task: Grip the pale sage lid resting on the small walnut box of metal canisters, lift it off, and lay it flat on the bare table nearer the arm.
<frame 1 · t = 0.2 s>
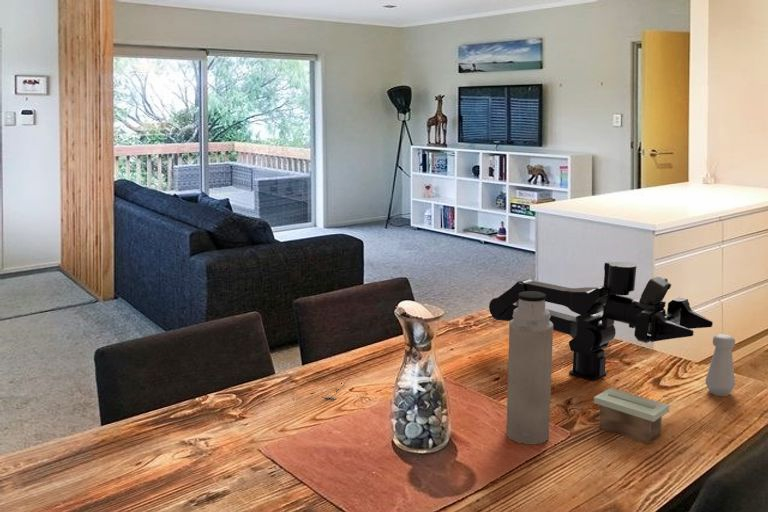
hand: (702, 328, 141), 17 cm above the table, tool horizontal, fingers open, 9 cm apart
fork: (338, 391, 156), on the table
thermos bottle: (527, 435, 133), on the table
salt shaker: (718, 393, 151), on the table
lid: (630, 406, 133), point 5 cm above the table, touching box
box: (629, 431, 134), on the table
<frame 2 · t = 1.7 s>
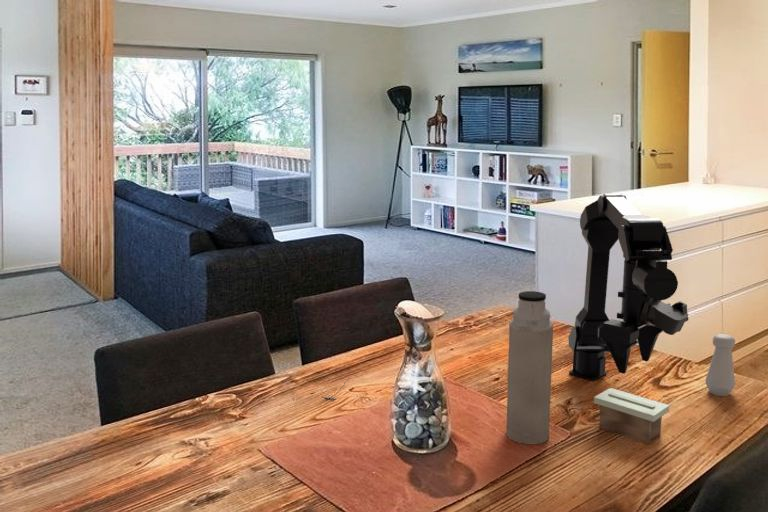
hand: (634, 366, 131), 13 cm above the table, tool pointing down, fingers open, 9 cm apart
nothing on the table moved.
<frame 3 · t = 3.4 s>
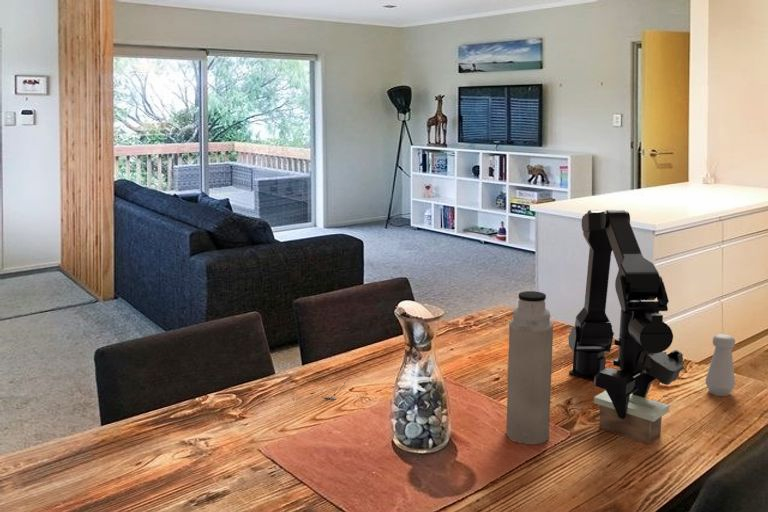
hand: (630, 412, 133), 4 cm above the table, tool pointing down, fingers closed on lid, 6 cm apart
lid: (630, 406, 133), point 5 cm above the table, touching box, gripper
everything else where it was.
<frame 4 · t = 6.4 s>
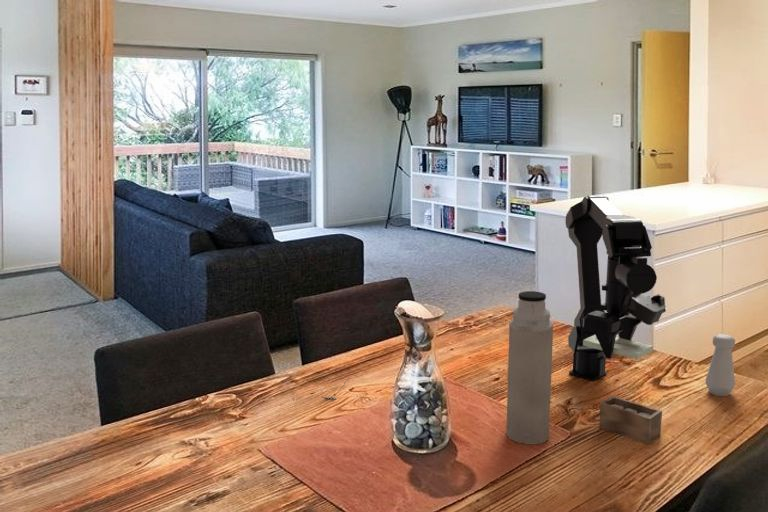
hand: (616, 354, 143), 11 cm above the table, tool pointing down, fingers closed on lid, 6 cm apart
lid: (617, 348, 143), point 13 cm above the table, touching gripper
everything else where it was.
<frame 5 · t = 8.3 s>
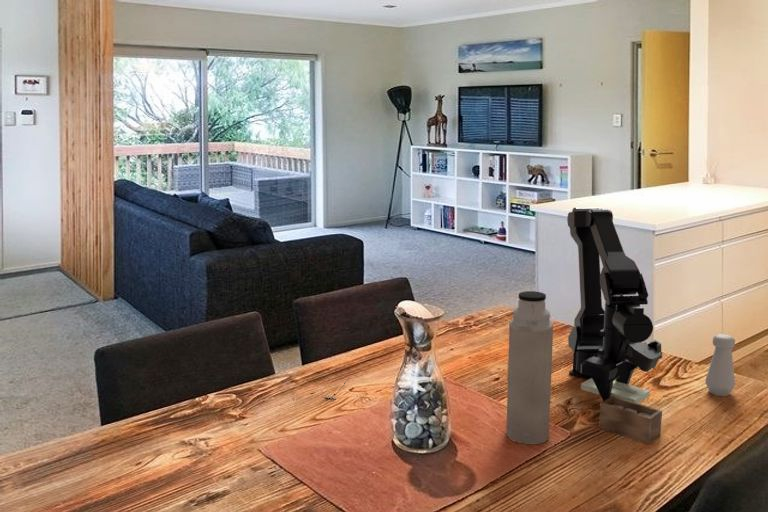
hand: (614, 398, 145), 2 cm above the table, tool pointing down, fingers closed on lid, 6 cm apart
lid: (614, 392, 145), point 3 cm above the table, touching gripper
everything else where it was.
when the fingers open (1 cm above the table, at t = 9.5 s): lid drops 3 cm, on the table.
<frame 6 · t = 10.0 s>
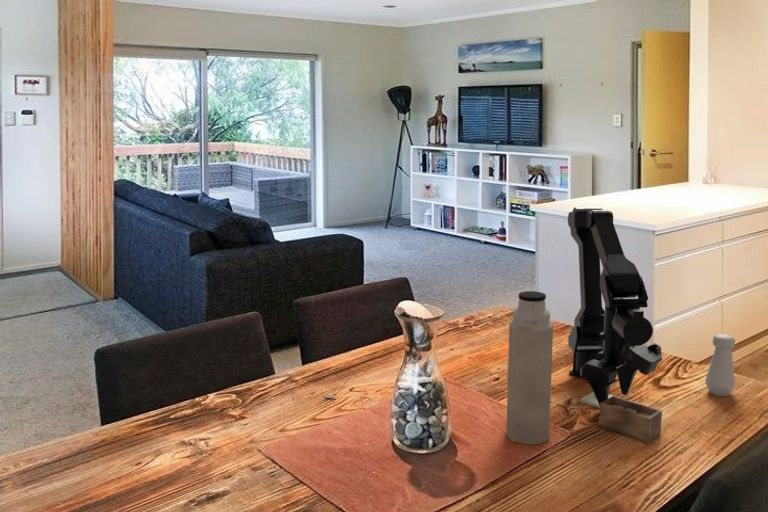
hand: (614, 400, 145), 1 cm above the table, tool pointing down, fingers open, 9 cm apart
lid: (613, 407, 145), on the table
everything else where it was.
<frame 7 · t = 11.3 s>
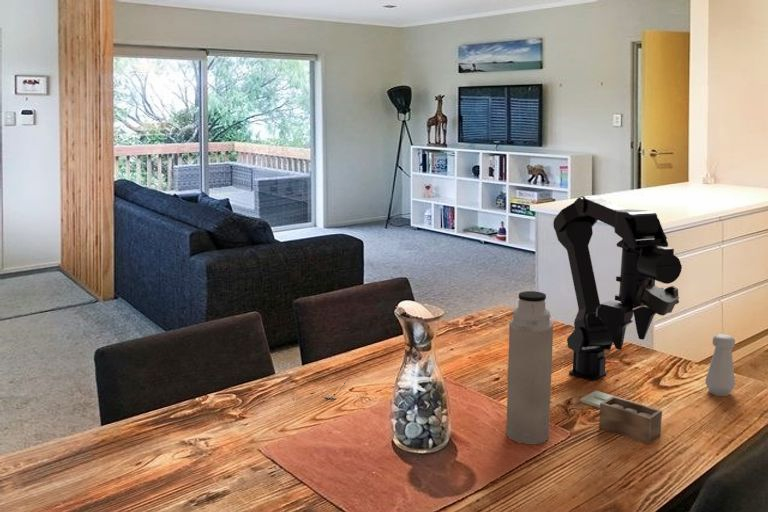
hand: (630, 344, 146), 12 cm above the table, tool pointing down, fingers open, 9 cm apart
nothing on the table moved.
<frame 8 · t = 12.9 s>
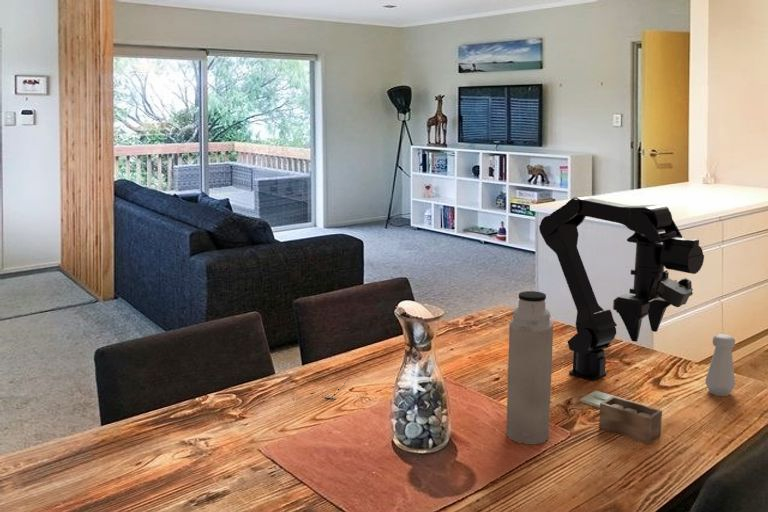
hand: (644, 336, 149), 13 cm above the table, tool pointing down, fingers open, 9 cm apart
nothing on the table moved.
at the end: lid inside the target area (0.0 cm from its centre), on the table; lid tilted 0°; lid touching table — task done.
